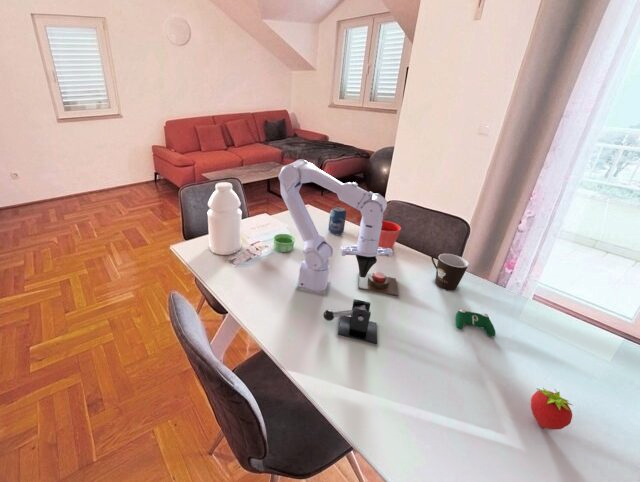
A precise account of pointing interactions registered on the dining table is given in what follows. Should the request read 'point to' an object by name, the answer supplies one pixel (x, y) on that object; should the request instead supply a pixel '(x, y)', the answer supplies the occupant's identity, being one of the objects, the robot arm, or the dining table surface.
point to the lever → (341, 313)
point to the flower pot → (388, 234)
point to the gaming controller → (474, 321)
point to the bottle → (224, 220)
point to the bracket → (359, 324)
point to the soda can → (337, 220)
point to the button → (379, 277)
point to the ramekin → (283, 242)
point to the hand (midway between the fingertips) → (362, 275)
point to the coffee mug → (449, 271)
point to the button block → (378, 285)
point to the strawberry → (550, 410)
